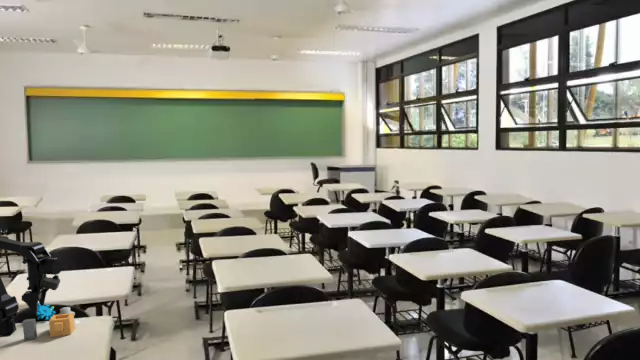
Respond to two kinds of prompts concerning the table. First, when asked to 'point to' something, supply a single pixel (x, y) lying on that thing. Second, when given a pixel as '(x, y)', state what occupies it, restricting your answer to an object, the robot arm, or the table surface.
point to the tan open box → (62, 323)
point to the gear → (45, 311)
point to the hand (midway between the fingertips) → (38, 309)
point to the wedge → (29, 329)
